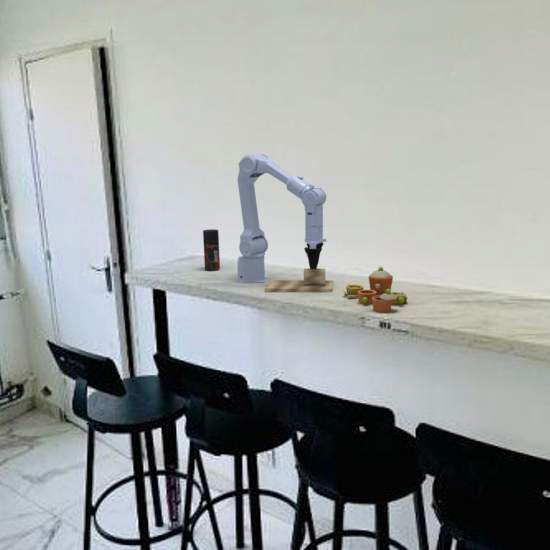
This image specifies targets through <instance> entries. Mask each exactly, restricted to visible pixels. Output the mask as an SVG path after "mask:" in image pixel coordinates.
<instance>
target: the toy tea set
mask: <svg viewBox="0 0 550 550" xmlns="http://www.w3.org/2000/svg"><path fill="white" fill-rule="evenodd" d="M393 280H394V276H393V275H392V274H390V272H388V271H387V270H384V267H383V266H378V269H377V270H375V271H373V272H371V273H370V274H369V275H368V282H369V289H364V286H363V285H361V284H351V283H348V284H347V285H346V286H345V288H346V292H345V291H344V290H342V292H343V293H344V294H343V297H345V298H347V299H355V300H356V299H358V304H360V305H372V309H373V311H374V312H375V313H380V314H381V313H382V314H383V313H390V311H391V309H392V307H404V305H405V306H407V305H409V302H408V297H407V294H406V293H405V292H404V291H401V292H400V291H399V292H398V291H393V292H392V284H393Z"/></svg>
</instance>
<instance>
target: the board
mask: <svg viewBox="0 0 550 550" xmlns="http://www.w3.org/2000/svg"><path fill="white" fill-rule="evenodd" d="M333 288H334V280H327V279H325V286H304V279H299V280H298V279H296V280H294V279H293V280H292V279H289V280H288V279H287V280H286V279H281V280H280V279H269V280H268V282H267V284H266V285H265V287H264V293H333Z"/></svg>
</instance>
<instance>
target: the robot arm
mask: <svg viewBox="0 0 550 550" xmlns="http://www.w3.org/2000/svg"><path fill="white" fill-rule="evenodd" d="M238 167H239V168H238V169H239V171H238V175H237V187H238V192H239V201H240V207H241V216H242V223H243V231H242V233H241V234H240V236H239V239H240V241H239V245H238V248H239V249H238V250H239V252H240V254H241V256H238V258H237V283H238V284H240V283H241V284H264V283H266V281H267V279H268V276H265V275H266V274H265V271H266V270H265V255H266V252H267V250H268V248H269V242H268V240H267V238H266V236H265V232H264V230H263V229H261V228H260V219H259V213H258V212H259V210H258V205H257V204H258V203H257V197H256V187H255V183H256V182H257V180H258V179H259V178H260V177H261V176H263V175H265V174H268V175H270V176H272V177H273V178H275V179H277V180H278V181H279V182H281V183H283V184H284V185H285V186H286V190H287V191H289V192H290V193H291V194H293V195H294V196H295V197H296V198H298V199H300V200H301V203H302V204H303V206H304V211H305V215H304V217H305V220H304V221H305V223H304V224H305V225H304V226H305V230H304V231H305V235H304V237H305V238H304V242H305V243H306V246H305V247H304V253H305V254H306V257H307V262H308V267H309V269H318V265H319V261H320V256H321V252H322V250H323V246H324V242H325V243H326V242H327V238H324V204H325V202H326V200H327V195H326V192H325V191H324V190H323V189H322V188H321V187H315V185H314V184H313V183H311V184H310V183H309V182H308V181H307V180H304V177H303V176H302V175H292V174H290V173H289V172H288V171H286V170H285V169H284V168H283V167H281V166H280V165H279V164H277V163H276V162H275V161H274V159H272V158H271V157H269V156H268V155H267V154H256V155H255V154H253V155H252V154H251V155H250V154H249V155H248V154H247V155H245V156H243V157H242V158H241V159H240V161H239V162H238Z"/></svg>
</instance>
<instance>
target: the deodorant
mask: <svg viewBox="0 0 550 550" xmlns="http://www.w3.org/2000/svg"><path fill="white" fill-rule="evenodd" d="M202 235H203V237H202V238H203V239H202V241H203V259H204V260H203V261H204V269H205V270H206V271H216V270H220V269H221V265H220V264H221V263H220V260H221V259H220V258H221V257H220V237H219V229H210V228H209V229H204V230H202Z"/></svg>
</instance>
